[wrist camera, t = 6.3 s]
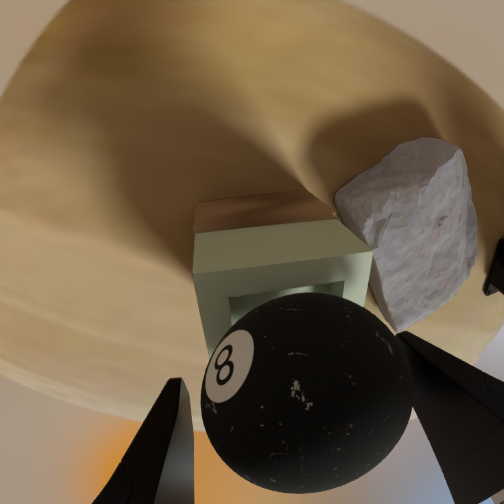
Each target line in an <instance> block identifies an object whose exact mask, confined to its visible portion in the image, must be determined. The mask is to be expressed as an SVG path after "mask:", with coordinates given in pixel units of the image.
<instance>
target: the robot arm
mask: <svg viewBox="0 0 504 504" xmlns="http://www.w3.org/2000/svg"><path fill="white" fill-rule="evenodd" d="M498 291H499V292H501V293H502V294H503V295H504V238H503V239H501V240H500V242H499V244H498V248H497V252H496V256H495V259H494V263H493V266H492V270H491V273H490V276H489V279H488V282H487V285H486V288H485V291H484V294H485V295H486V296H489V295H491V294H493V293H495V292H498ZM395 337H396V339H397V340H398V342H399V343H400V345H401V347H402V348H403V350H404V352H405V354H406V357H407V359H408V362H409V365H410V369H411V373H412V377H413V386H414V398H413V408H414V410H415V412H416V414H417V416H418V418H419V420H420V423H421V425H422V427H423V429H424V431H425V433H426V435H427V437H428V440H429V442H430V444H431V447H432V449H433V451H434V453H435V456H436V458H437V460H438V463H439V465H440V467H441V469H442V472H443V474H444V477H445V480H446V482H447V485H448V487H449V490H450V493H451V495H452V498H453V500H454V503H455V504H479V503H480V502H482V501H484V500H486V499H488V498H489V497H491V498H492V500H493V502H494V504H504V382H503V381H501V380H499V379H496V378H494V377H493V376H491V375H489V374H487V373H485V372H482V371H481V370H479V369H477V368H476V367H474V366H472V365H470V364H468V363H466V362H464V361H462V360H461V359H459V358H457V357H455V356H453V355H451V354H449V353H448V352H446V351H444V350H442V349H440V348H438V347H436V346H434V345H433V344H431V343H429V342H427V341H425V340H423V339H421V338H419V337H418V336H416V335H414V334H412V333H410V332H408V331H403V332H400V333H397V334H396V335H395ZM121 462H122V463H121ZM121 462H120V463H119V465H118V467H117V468H116V470H115V471H114V473H113V475H112V476H111V478H110V480H109V481H108V483H107V484H106V485H105V487H104V488H103V490H102V491H101V492H100V494H99V495H98V496H97V498H96V499H95V500H94V501H93V503H92V504H194V434H193V425H192V416H191V406H190V397H189V392H188V390H187V388H186V385H185V383H184V381H183V379H182V378H180V377H178V378H170V379H169V380H168V381H167V383H166V384H165V386H164V388H163V390H162V391H161V393H160V395H159V396H158V398H157V400H156V401H155V403H154V405H153V407H152V408H151V410H150V412H149V413H148V415H147V417H146V418H145V420H144V422H143V424H142V426H141V427H140V429H139V431H138V432H137V434H136V436H135V437H134V439H133V441H132V443H131V444H130V446H129V448H128V449H127V451H126V453H125V455H124V456H123V458H122V460H121Z"/></svg>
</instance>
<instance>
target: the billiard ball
mask: <svg viewBox="0 0 504 504" xmlns="http://www.w3.org/2000/svg"><path fill="white" fill-rule="evenodd" d="M413 398H414V386H413V377H412V373H411V369H410V365H409V362H408V359H407V357H406V354H405V352H404V350H403V348H402V347H401V345H400V343H399V342H398V340H397V339H396V337H395V336H394V334H393V333H392V332H391V331H390V330H389V328H388V327H387V326H386V325H385V324H384V323H383V322H382V321H381V320H380V319H379V318H377V317H376V316H375V315H374V314H372V313H371V312H370V311H368V310H367V309H365V308H364V307H362V306H360V305H358V304H357V303H354V302H352V301H350V300H348V299H345V298H342V297H339V296H335V295H331V294H326V293H316V292H304V293H295V294H289V295H285V296H281V297H278V298H275V299H272V300H270V301H268V302H265V303H263V304H261V305H259V306H258V307H256V308H254V309H253V310H251V311H250V312H248V313H247V314H245V315H244V316H243V317H242V318H240V319H239V320H238V321H237V322H236V323H235V324H234V325H233V326H232V327H231V328H230V329H229V330H228V331H227V332H226V334H225V335H224V336H223V337H222V339H221V340H220V342H219V343H218V345H217V347H216V348H215V350H214V352H213V354H212V356H211V358H210V360H209V363H208V365H207V368H206V371H205V375H204V378H203V382H202V389H201V412H202V419H203V424H204V427H205V430H206V433H207V435H208V438H209V440H210V442H211V444H212V446H213V447H214V449H215V450H216V452H217V453H218V455H219V456H220V458H221V459H222V460H223V461H224V462H225V463H226V464H227V465H228V466H229V467H230V468H231V469H232V470H233V471H234V472H235V473H237V474H238V475H240V476H241V477H242V478H244V479H246V480H247V481H249V482H251V483H253V484H255V485H258V486H260V487H262V488H265V489H269V490H272V491H277V492H283V493H295V494H304V493H315V492H321V491H325V490H330V489H333V488H336V487H339V486H342V485H345V484H347V483H349V482H351V481H354V480H356V479H358V478H359V477H361V476H363V475H364V474H366V473H367V472H369V471H370V470H371V469H373V468H374V467H375V466H377V465H378V464H379V463H380V462H381V461H382V460H383V459H385V457H386V456H387V455H388V454H389V453H390V452H391V451H392V449H393V448H394V446H395V445H396V444H397V443H398V441H399V440H400V438H401V436H402V435H403V433H404V431H405V429H406V426H407V424H408V421H409V418H410V415H411V411H412V407H413Z"/></svg>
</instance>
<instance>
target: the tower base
mask: <svg viewBox="0 0 504 504" xmlns="http://www.w3.org/2000/svg"><path fill="white" fill-rule="evenodd" d="M335 213H336V212H334V211H333V210H332V209H331V208H329V207H328V206H327V205H326V204H324V203H323V202H322V201H320V200H319V199H318V198H317V197H315V196H314V195H313V194H312V193H310V192H309V191H308V190H298V191H287V192H278V193H269V194H260V195H251V196H243V197H235V198H227V199H220V200H213V201H206V202H199V203H196V208H195V216H194V225H193V234H194V240H195V234H196V233H204V232H213V231H222V230H231V229H240V228H249V227H259V226H268V225H278V224H288V223H298V222H309V221H320V220H331V219H335Z"/></svg>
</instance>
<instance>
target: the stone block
mask: <svg viewBox="0 0 504 504" xmlns="http://www.w3.org/2000/svg"><path fill="white" fill-rule="evenodd" d="M334 200H335V206H336V208H337V209H338V212H339V215H340V217H341V219H342V221H343V223H344V225H345V226H346V227H347V228H348V229H349V230H350V231H351V232H352V233H354V234H355V235H356V236H357V237H358V238H359V239H360V240H361V241H363V242H364V243H365V244H366V245H367V246H368V247H369V248H370V249H371V250H373V256H372V263H371V269H370V276H369V283H370V285H371V288H372V290H373V293H374V296H375V299H376V302H377V304H378V307H379V310H380V311H381V313H382V315H383V317H384V318H385V320H386V321H387V322H388V323H389V324H390V326H391V327H392V328H393V329H394V331H396V332H401V331H402V330H404V329H406V328H408V327H410V326H412V325H414V324H415V323H417V322H419V321H421V320H423V319H424V318H425V317H427V316H428V315H430V314H431V313H433V312H435V311H436V310H438V309H439V308H440V307H441V306H443V305H444V304H445V303H447V302H448V301H449V300H450V299H451V298H452V297H454V296H455V295H456V294H457V292H458V291H459V289H460V288H461V286H462V285H463V283H464V282H465V281H466V280H467V278H468V277H469V275H470V272H471V268H472V267H473V266H474V264H475V260H476V257H477V254H478V245H477V232H478V227H477V216H476V211H475V208H474V204H473V202H472V201H471V200H472V195H471V186H470V182H469V178H468V176H467V166H466V162H465V158H464V155H463V151H462V150H461V148H459V147H457V146H456V145H454V144H451V143H450V142H448V141H446V140H442V139H439V138H433V137H420V138H418V139H415V140H412V141H407V142H404V143H401V144H398V146H397V147H396V148H394V149H393V150H392V151H391V152H390V153H389V154H388V155H386V156H384V157H383V159H382V160H381V161H380V163H379V164H377V165H375V166H374V167H372V168H371V169H368V170H366V171H364V172H362V173H360V174H359V175H358V176H356V177H355V178H354V179H352V180H351V181H350V182H349V183H347V184H346V185H345V186H343V187H341V188H340V189H339V190H338V191H337V192H336V193H335V198H334Z"/></svg>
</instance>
